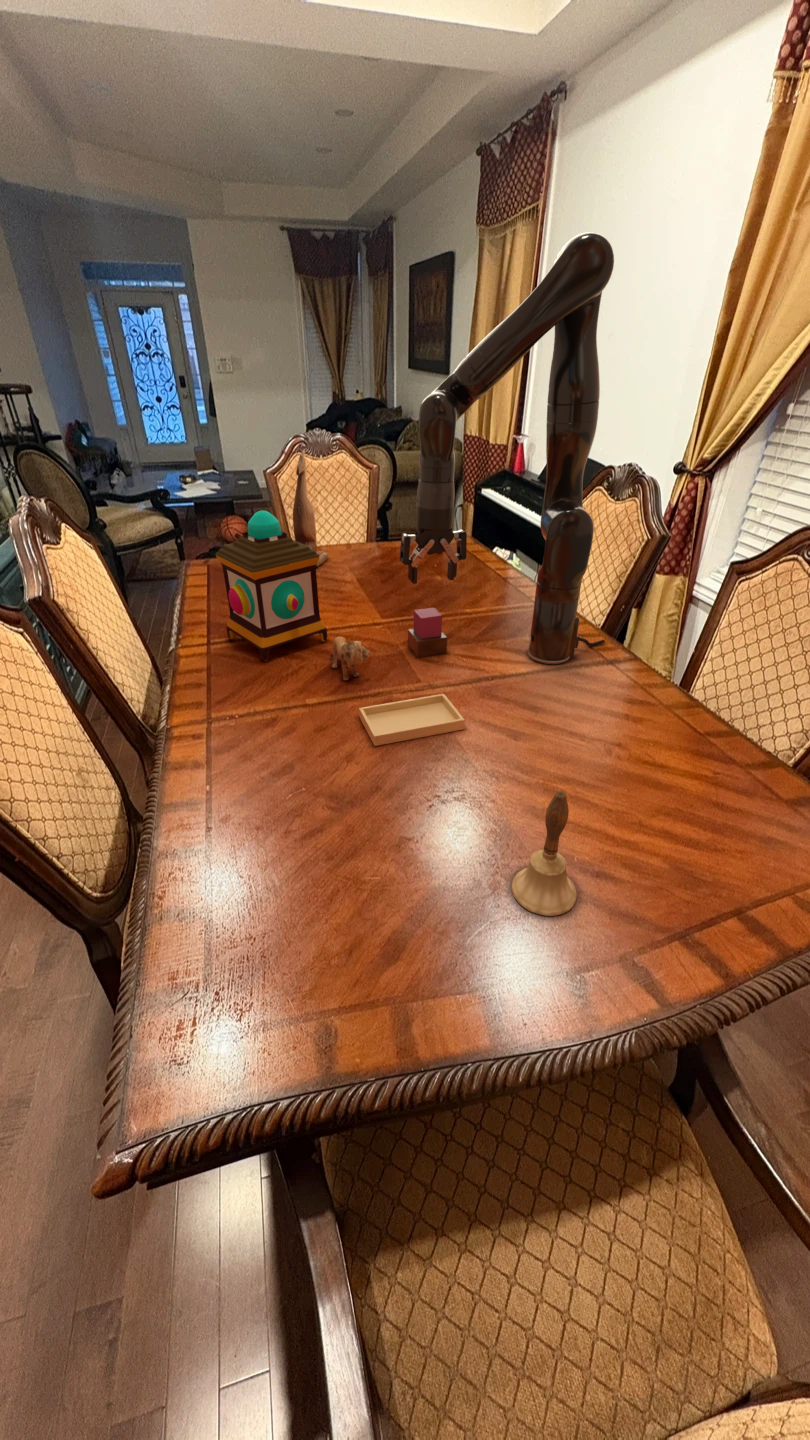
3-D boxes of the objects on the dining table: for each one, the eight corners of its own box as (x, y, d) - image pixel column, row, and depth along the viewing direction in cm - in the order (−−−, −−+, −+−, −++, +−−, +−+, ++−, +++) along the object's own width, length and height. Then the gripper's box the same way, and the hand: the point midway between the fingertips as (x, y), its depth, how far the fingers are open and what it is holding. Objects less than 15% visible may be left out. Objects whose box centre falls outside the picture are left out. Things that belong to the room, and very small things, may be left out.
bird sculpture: (284, 566, 191) (272, 457, 174) (295, 555, 201) (286, 451, 184) (318, 568, 190) (310, 458, 173) (328, 557, 199) (321, 452, 182)
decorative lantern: (261, 667, 133) (242, 528, 117) (219, 638, 145) (196, 509, 129) (336, 641, 144) (327, 511, 128) (291, 617, 157) (278, 495, 141)
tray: (443, 702, 120) (443, 693, 119) (464, 729, 112) (464, 719, 111) (359, 717, 115) (359, 707, 114) (374, 746, 107) (374, 736, 106)
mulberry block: (433, 627, 141) (434, 607, 138) (441, 636, 137) (442, 615, 134) (413, 630, 140) (413, 610, 137) (420, 639, 136) (421, 618, 133)
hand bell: (505, 869, 82) (516, 775, 74) (564, 865, 83) (583, 772, 74) (520, 918, 75) (535, 821, 67) (585, 914, 76) (608, 817, 67)
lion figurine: (373, 681, 127) (372, 642, 123) (351, 688, 125) (349, 648, 120) (340, 655, 138) (338, 618, 133) (319, 661, 135) (316, 623, 130)
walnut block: (435, 641, 144) (436, 625, 142) (446, 653, 139) (447, 637, 137) (407, 645, 142) (407, 629, 140) (417, 657, 137) (418, 641, 135)
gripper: (408, 509, 118) (406, 590, 126) (475, 505, 122) (469, 583, 130) (396, 501, 124) (395, 578, 132) (460, 497, 128) (455, 572, 136)
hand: (432, 580), depth 131 cm, fingers open, 8 cm apart
